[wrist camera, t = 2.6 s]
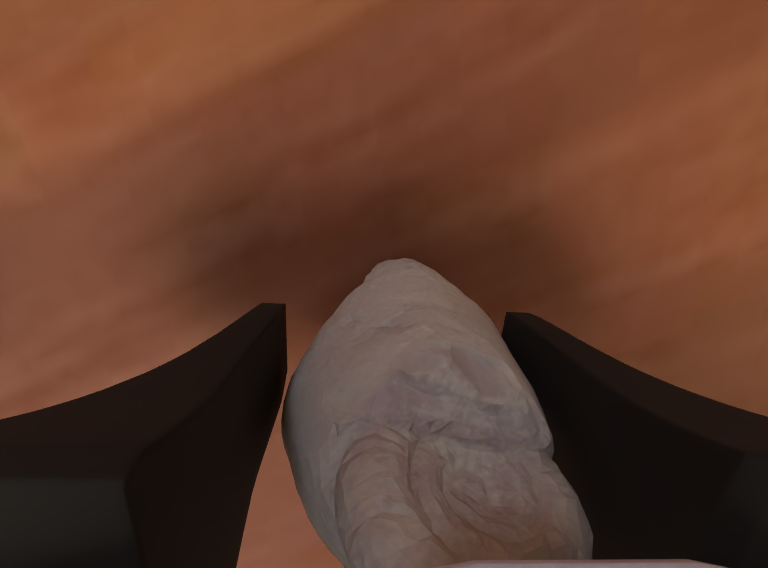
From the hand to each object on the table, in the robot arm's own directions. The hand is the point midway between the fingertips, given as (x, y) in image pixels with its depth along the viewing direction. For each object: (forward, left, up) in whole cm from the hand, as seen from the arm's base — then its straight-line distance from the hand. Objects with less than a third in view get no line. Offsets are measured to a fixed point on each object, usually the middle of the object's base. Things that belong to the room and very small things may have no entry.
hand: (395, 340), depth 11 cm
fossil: (0, 0, -3) cm, 3 cm away
